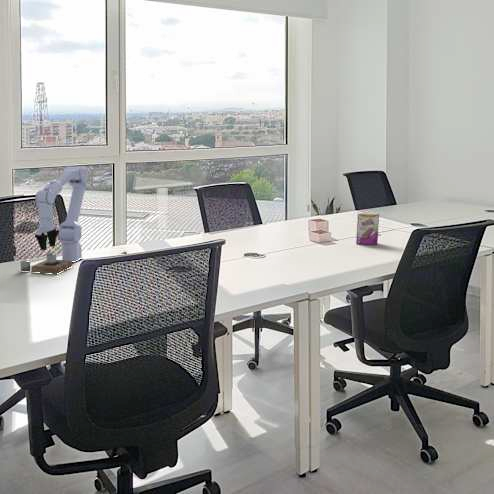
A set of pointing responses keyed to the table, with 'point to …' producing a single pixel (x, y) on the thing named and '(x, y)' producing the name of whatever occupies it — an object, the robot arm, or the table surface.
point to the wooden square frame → (51, 267)
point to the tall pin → (51, 259)
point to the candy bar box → (367, 228)
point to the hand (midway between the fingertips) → (47, 248)
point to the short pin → (25, 265)
